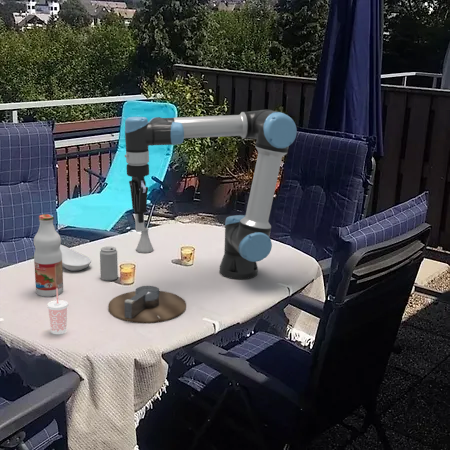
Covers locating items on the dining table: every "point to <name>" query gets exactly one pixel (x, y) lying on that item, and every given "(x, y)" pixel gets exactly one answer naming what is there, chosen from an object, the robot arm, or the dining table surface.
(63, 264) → the spoon rest
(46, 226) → the fruit juice
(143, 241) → the flask
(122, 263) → the dining table surface
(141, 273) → the dining table surface
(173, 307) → the dial board
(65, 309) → the beverage cup
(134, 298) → the dial
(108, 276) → the beverage can
